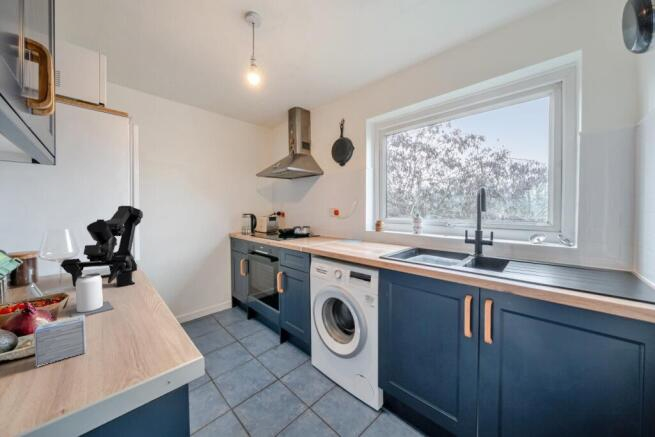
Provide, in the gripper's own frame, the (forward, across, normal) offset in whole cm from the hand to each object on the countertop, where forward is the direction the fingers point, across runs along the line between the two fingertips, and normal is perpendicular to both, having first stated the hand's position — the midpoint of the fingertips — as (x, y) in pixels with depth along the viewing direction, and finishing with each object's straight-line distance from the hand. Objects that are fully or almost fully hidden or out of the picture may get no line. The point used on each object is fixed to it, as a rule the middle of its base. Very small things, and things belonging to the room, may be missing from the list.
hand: (91, 284), depth 83 cm
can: (+7, 0, +6) cm, 9 cm away
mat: (+7, 0, +6) cm, 9 cm away
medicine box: (+29, +6, -17) cm, 34 cm away
